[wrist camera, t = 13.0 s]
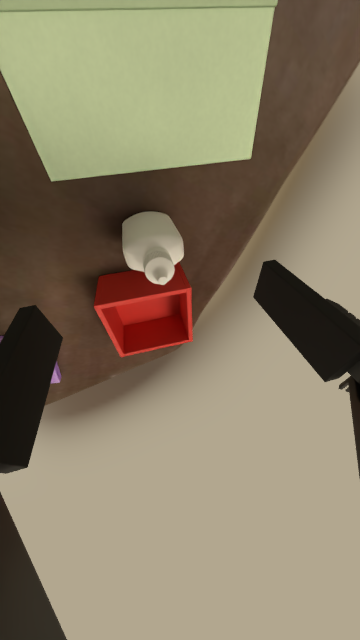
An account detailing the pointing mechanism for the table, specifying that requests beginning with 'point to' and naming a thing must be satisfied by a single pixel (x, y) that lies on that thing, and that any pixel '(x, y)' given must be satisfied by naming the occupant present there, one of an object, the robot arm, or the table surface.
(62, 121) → the notebook
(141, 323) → the bin
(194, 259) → the table surface
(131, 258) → the eye dropper bottle
